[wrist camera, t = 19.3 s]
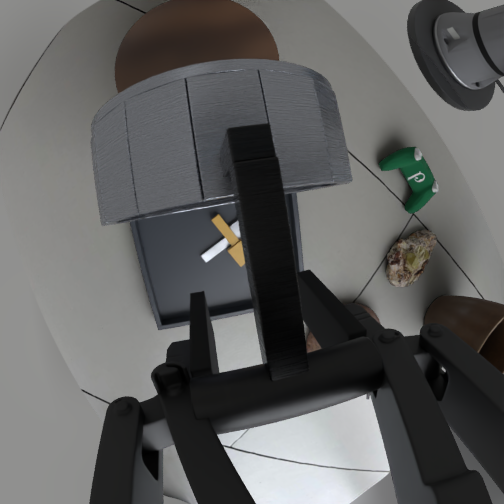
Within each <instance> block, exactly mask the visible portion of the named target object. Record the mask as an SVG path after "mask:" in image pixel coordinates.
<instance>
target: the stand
mask: <svg viewBox="0 0 504 504" xmlns="http://www.w3.org/2000/svg"><path fill="white" fill-rule="evenodd" d="M229 59H268V60H276V61H279V54H278V50H277V46H276V43H275V41H274V38H273V36H272V34H271V33H270V31H269V29H268V28H267V26H266V25H265V24H264V23H263V21H262V20H261V19H260V18H259V17H258V16H256V15H255V14H254V13H253V12H251V11H250V10H249V9H247V8H246V7H244V6H242V5H240V4H238V3H236V2H233V1H231V0H170V1H168V2H165V3H163V4H161V5H159V6H157V7H155V8H153V9H152V10H150V11H149V12H147V13H146V14H145V15H143V16H142V17H141V18H140V19H139V20H138V21H137V22H136V23H135V24H134V25H133V26H132V27H131V28H130V30H129V31H128V32H127V34H126V36H125V37H124V39H123V41H122V43H121V45H120V47H119V50H118V53H117V57H116V62H115V81H116V87H117V90H118V93H120V92H122V91H124V90H125V89H127V88H129V87H131V86H132V85H134V84H136V83H139V82H141V81H143V80H145V79H148V78H150V77H152V76H155V75H158V74H161V73H164V72H167V71H170V70H173V69H177V68H181V67H185V66H189V65H193V64H198V63H204V62H211V61H217V60H229Z"/></svg>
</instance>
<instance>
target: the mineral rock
mask: <svg viewBox="0 0 504 504" xmlns="http://www.w3.org/2000/svg"><path fill="white" fill-rule="evenodd" d="M436 240H437V238H436V235H435V234H433V233H431V231H428V230H418V231H416V232H415V233H412V234H411V235H410V236H409V237H408V238H407V239H405V240H403V239H402V238H401V239H399V240H398V241H396V242H395V244H394V245H393V246H392V247H391V250H390V252H389V253H388V254H387V259H388V262H389V264H388V265H387V269H386V274H387V279H388V280H389V281H390V284H392V285H394V286H396V287H398V286H402V287H404V286H406V287H407V286H408V285H409V284H410V285H412V284H413V283H414V281H417V280H418V278H419V276H420V275H421V274H422V273H423V272H424V269H425V265H426V264H427V263H428V261H429V258H430V256H431V253H432V250H433V248H434V246H435V245H436V243H437V242H436Z"/></svg>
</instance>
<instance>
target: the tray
mask: <svg viewBox="0 0 504 504" xmlns="http://www.w3.org/2000/svg"><path fill="white" fill-rule="evenodd" d="M285 200H286V206H287V212H288V218H289V224H290V231H291V237H292V244H293V251H294V258H295V264H296V271H297V272H301V271H304V267H303V255H302V244H301V234H300V224H299V214H298V204H297V195H296V193H290V194H285ZM217 214H219V215H220V216H221V217H222V219H223V220H224V221H225V223H226V224H227V225H228V226H229V225H230V224H232V223H233V222H234V221H236V220H237V219H238V218H237V212H236V207H235V203H231V204H225V205H219V206H214V207H208V208H202V209H197V210H191V211H186V212H180V213H175V214H169V215H164V216H158V217H153V218H148V219H142V220H137V221H131V222H130V224H131V229H132V233H133V238H134V242H135V247H136V251H137V255H138V259H139V263H140V267H141V271H142V275H143V278H144V282H145V286H146V290H147V293H148V297H149V300H150V304H151V307H152V311H153V314H154V317H155V321H156V324H157V327H158V330H162V329H168V328H174V327H180V326H185V325H190V293H195V292H201V291H204V292H205V297H206V301H207V306H208V310H209V315H210V319H211V321H212V320H217V319H222V318H227V317H232V316H237V315H242V314H247V313H252V312H254V310H253V305H252V299H251V293H250V288H249V282H248V276H247V271H246V265H245V264H244V265H243V266H242V267H240V266H239V264H238V263H237V262H236V261H235V260H234V258H233V257H232V256H231V255H230V254H229V252H228V251H227V249H228V248H230V247H231V244H230V245H229V246H228V247H226V248H225V249H224V250H222V251H221V252H220V253H218V254H217V255H216V256H214V257H213V258H212V259H210V260H209V261H208V262H205V261H204V259H203V258H202V257H201V254H202V253H204V252H205V251H206V250H208V249H209V248H210V247H212V246H213V245H214V244H216V243H217V242H218V241H219V240H221V239H222V238H223V237H224V236H223V234H222V233H221V232H220V231H219V229H218V228H217V227H216V226H215V224H214V223H213V222H212V221H211V219H212V218H213V217H215V216H216V215H217Z"/></svg>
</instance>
